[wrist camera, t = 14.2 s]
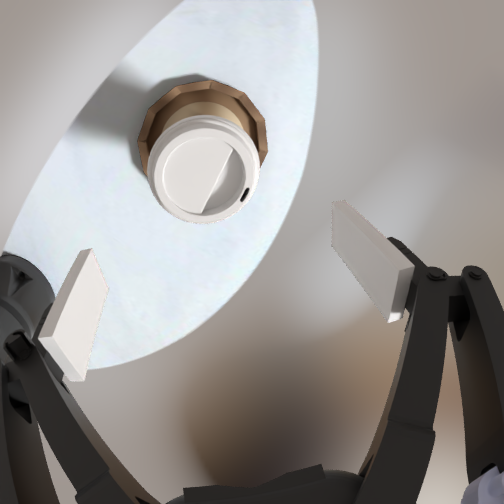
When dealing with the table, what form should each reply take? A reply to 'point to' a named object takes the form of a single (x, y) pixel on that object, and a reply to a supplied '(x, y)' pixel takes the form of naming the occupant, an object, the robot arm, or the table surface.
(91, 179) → the table surface
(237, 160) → the coffee cup
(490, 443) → the robot arm
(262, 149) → the polygonal wooden dish
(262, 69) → the table surface
